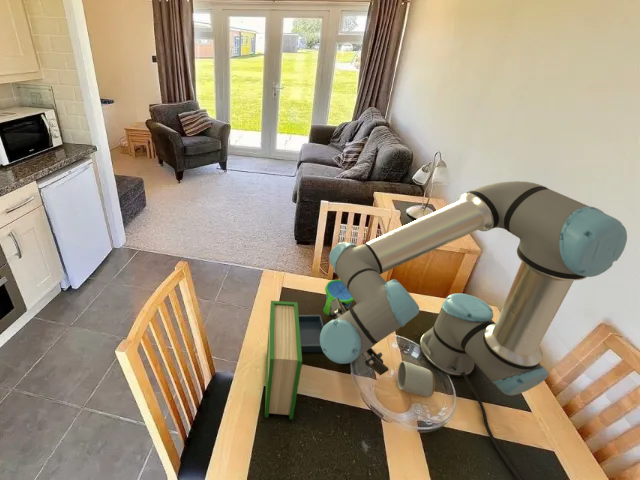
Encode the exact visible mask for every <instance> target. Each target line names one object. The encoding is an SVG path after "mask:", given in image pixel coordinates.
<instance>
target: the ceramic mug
mask: <svg viewBox="0 0 640 480" xmlns="http://www.w3.org/2000/svg"><path fill="white" fill-rule="evenodd" d="M435 380H436V379H435V375H434V374H433V372H432V371H431V370H430V369H428V368H426V367H423V366H420V365H416V364H413V363H412V362H409V361H405V360H401V361H400V363H399V366H398V369H397V386H398V388H399V390H400V391H403V392H407V393H410V394H413V395H418V396H421V397H423V398H430V397H432V396H433V395H434V392H435V389H436V381H435Z"/></svg>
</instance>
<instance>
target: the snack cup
mask: <svg viewBox="0 0 640 480" xmlns="http://www.w3.org/2000/svg"><path fill="white" fill-rule="evenodd" d="M324 290H325V294H326V296H325V298H326V299H325V301H326V302H325V305H324V307H323V309H322V312H323V313H324V314H325V315H326V316H333V315H332V308H331V304H330V302H331V301H332V300H334V299H335V298H339V300H340V303H342V302H345V304H346V306H344V307H349V308H350V309H351V305H352V303H353V302H355V301H354V299H353V298H352V296H351V294H350V293H349V291H348V290H347V288H346V287H345V285H344V284H343V282H342V281H341V280H340V279H332V280H330V281H328V282H327V283H326V286H325V287H324Z"/></svg>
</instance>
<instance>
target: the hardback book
mask: <svg viewBox="0 0 640 480" xmlns="http://www.w3.org/2000/svg"><path fill="white" fill-rule="evenodd" d="M298 315H299V305H298V302H297V301H296V302H295V301H285V300H284V301H281V300H270V309H269V321H268V334H267V345H266V359H265V360H266V361H265V363H266V364H265V398H264V399H265V401H264V402H265V403H264V418H269V414H273V415H285V416H288V420H294V415H295V408H296V402H297V395H298V390H299V385H300V377H301V371H302V364H303V355H302V353H303V352H301V340H300V328H299V316H298Z"/></svg>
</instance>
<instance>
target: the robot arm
mask: <svg viewBox="0 0 640 480" xmlns="http://www.w3.org/2000/svg"><path fill="white" fill-rule="evenodd" d="M493 229H502V230H506V231H507V232H508V233H510V234H511V235H513V236H515V237H516V238H518V239H519V243H518V246H517V247H516V256H517V257H518V259H519V261H521V262H520V264H519V267H518V269H517V272H516V274H515V277H514V279H513V282H512V283H511V286H510V289H509V292H508V294H507V296H506V299H505V301H504V303H503V306H502V309H501V311H500V314H499V316H498V318H497V320H496V322H495V321H494V320H493V319H494V310H493V309H492V307H491V306H490V305H489V304H488V303H487V302H485V301H484V300H482V299H481V298H479V297H476V296H474V295H471V294H467V293H462V292H461V293H460V292H459V293H458V292H457V293H455V292H454V293H451V294H449V295H448V296H446V298H445V300H444V301H443V302H442V304H441V308H440V310H439V313H438V315H437V317H436V320H435V322H434V325H433V326H432V327H431V328H430V329H429V330H427V331H426V332H425V333H423V335H422V336H421V338H420V341H419V349H420V353H421V355H422V356H423V358H424V359H425V361H426V362H427V363H428V364H429V365H430V366H431V367H433V368H434V369H435V370H437V371H438V372H440V373H442V374H443V375H446V376H448V377H451V378H452V377H453V378H463V379H464V380H465V382H466V384H467V385H468V387H469V389H470V390H471V392H472V393H473V396H474V397H475V399H476V401H477V403H478V405H479V408H480V411H481V416H482V420H483V423H484V428H485V430H486V432H487V435H488V437H489V439H490V440H491V443H492V444H493V447H494V448H495V449H496V451H497V452H498V455H500V457H501V458H502V460H503V461H504V463H505V464H506V466H507V468H508V469H509V471H510V472H511V473H512V475H513V476H514V477H515V478H516V480H523V479H522V477H521V476H520V473H518V472H517V470H516V469H515V467H514V466H513V464H512V463H511V462H510V461H509V459H508V457H507V456H506V455H505V453H504V452H503V450H502V449H501V447H500V446H499V443H498V442H497V440H496V438H495V437H494V435H493V432H492V430H491V428H490V425H489V422H488V416H487V412H486V409H485V406H484V404H483V402H482V399H481V398H480V396H479V394H478V392H477V390H476V389H475V388H474V386H473V384H472V382H471V381H470V379H469V377H468V376H469V375H471V373H472V372H473V370H474V368H475V365H476V366H477V368H479V370H480V371H482V373H483V374H484V375H485V376H486V377H487V378H488V380H489V381H490V382H491V383H492V384H493V385H494V386H495V387H496V388H497V389H498V390H499V391H500V392H501V393H502V394H504V395H507V396H516V395H520V394H523V393H526V392H527V391H529V390H531V389H534V388H535V387H537V386H538V385H540V384H541V383H543V382H544V381H545V380H546V379H547V378H548V377H549V371H548V370H547V369H546V367H545V366H544V365H542V364H541V362H542V360H543V357H544V353H543V349H542V346H541V345H540V344H541V343H542V341H543V339H544V337H545V335H546V333H547V332H548V330H549V328H550V326H551V324H552V322H553V320H554V319H555V317H556V315H557V313H558V312H559V309H560V307H561V306H562V303H563V302H564V300H565V298H566V296H567V294H568V292H569V290H570V289H571V287H572V285H573V284H574V281H582V280H585V279H586V278H593V277H597V276H600V275H602V274H603V273H606V272H607V271H608V270H609V269H611V267H612V266H613V264H614V262H617V261H618V260H619V259H620V257H621V256H622V254H623V252H624V251H625V249H626V245H627V241H628V233H627V229H626V227H625V226H624V224H623V222H621V221H620V220H619V219H617V218H615V217H614V216H612V215H609V214H607V213H605V212H604V211H603V210H602V209H599V208H597V207H596V206H595V207H594V206H589V205H587V204H586V203H582V202H580V201H577V200H575V199H573V198H571V197H569V196H567V195H564V194H562V193H560V192H557V191H555V190H553V189H550V188H548V187H547V186H544V185H542V184H540V183H536V182H531V181H519V180H518V181H517V180H516V181H504V182H496V183H491V184H485V185H482V186H479V187H476V188H473V189H471V190H469V191H467V192H465V193H462V194H461V195H459V197H458V201H455V202H453V203H451V204H448V205H446V206H444V207H442V208H440V209H438V210H435V211H434V212H431V213H430V214H426V215H425V216H422V217H420V218H418V219H416V220H413V221H412V222H411V221H410V222H409V223H407V224H405V225H403V226H400V227H398V228H396V229H394V230H391V231H389V232H387V233H384V234H383V235H380V236H378V237H375V238H374V239H371V240H369V241H367V242H365V243H362V244H361V245H356V244H355V243H354V242H351V241H341V242H339V243H337V244H336V245H335V246H334V247H333V248H332V249H331V250H330V252H329V257H328V259H329V260H328V261H329V264H330V265H331V266H332V269H333V271H334V274H335V275H336V276H337V277H338V278H339V280H341V281H342V282H343V284H344V285H345V287H346V288H347V290H348V291H349V293H350V294H351V296H352V298H353V299H354V301H353V302H354V303H355V305H353V306H352V307H350V308H349V307H344V306H346V304H345V302H342V303H340V300H339V298H335V299H334V300H332V301H331V302H330V304H331V308H332V315H331V316H333V317H334V318H335V319H331V320H330V321H328V322H327V323H326V324H324V327H323V329H322V330H321V333H320V345H321V348H322V350H323V352H322V353H323V354H324V355H325V356H326V357H327V359H329V360H330V361H331V362H333V363H336V364H338V365H339V364H340V365H346V364H351V363H353V362H354V361H356V360H357V359H358V358H359V357H360V356H362V355H363V357H365V358H364V359H363V360H364V364H365V365H366V366H367V367H369V368H370V369H372V370H373V371H374V372H375V373H376V374H378V375H379V376H382V375H384V374H385V373H387V372H388V371H389V367H388V366H386V364H385V363H384V360H383V359H382V357H383V354H382V352H381V351H380V352H378V353H377V352H376V351H375V350H374V349H373V347H375V346H376V345H377V344H378V343H379V342H381V341H382V340H384V339H385V338H387V337H389V336H390V335H392V334H393V333H395V332H396V331H397V330H399V329H400V328H403V327H405V326H406V324H407V323H409V322H410V321H411V320H413V319H414V318H415V317H417V315H419V313H420V306H419V304H418V302H416V300H415V299H414V297H413V296H412V295H411V293H409V291H408V290H407V289H406V288H405V287H404V286H403V285H402V284H401V283H400V282H399V280H397V279H395V278H393V279H391V280H388V281H387V280H385V279H384V277H383V276H382V274H384V273H387V272H389V271H392V270H393V269H396V268H397V267H400V266H402V265H404V264H407V263H408V262H411V261H413V260H415V259H418V258H420V257H422V256H424V255H426V254H429V253H430V252H433V251H435V250H437V249H439V248H442V247H444V246H446V245H449V244H450V243H452V242H455V241H457V240H459V239H461V238H464V237H466V236H468V235H471V234H473V233H475V232H477V231H480V232H488V231H491V230H493Z"/></svg>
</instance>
